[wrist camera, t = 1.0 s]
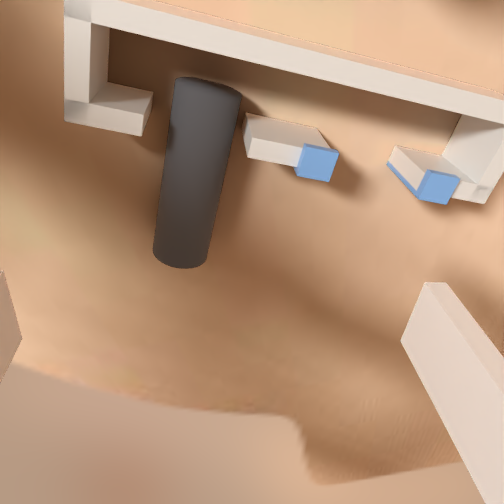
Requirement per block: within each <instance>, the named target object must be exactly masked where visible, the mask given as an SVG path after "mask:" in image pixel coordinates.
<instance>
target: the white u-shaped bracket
mask: <svg viewBox="0 0 504 504" xmlns="http://www.w3.org/2000/svg"><path fill="white" fill-rule="evenodd" d="M110 27H111V28H115V29H119V30H123V31H127V32H131V33H135V34H139V35H143V36H147V37H151V38H155V39H160V40H164V41H168V42H172V43H176V44H180V45H184V46H188V47H192V48H196V49H200V50H204V51H208V52H212V53H216V54H220V55H225V56H229V57H233V58H237V59H241V60H245V61H249V62H253V63H257V64H261V65H265V66H269V67H273V68H277V69H281V70H285V71H290V72H294V73H298V74H302V75H306V76H310V77H314V78H318V79H322V80H326V81H330V82H334V83H338V84H342V85H346V86H351V87H355V88H359V89H363V90H367V91H371V92H375V93H379V94H383V95H387V96H391V97H395V98H399V99H403V100H407V101H411V102H416V103H420V104H424V105H428V106H432V107H436V108H440V109H444V110H448V111H452V112H456V113H460V114H462V116H461V118H460V120H459V122H458V124H457V126H456V128H455V130H454V132H453V134H452V136H451V138H450V140H449V141H448V143H447V145H446V147H445V149H444V151H443V153H442V155H437V154H433V153H428V152H424V151H419V150H414V149H410V148H405V147H401V146H396V145H395V146H394V149H393V151H392V153H391V155H390V158H389V160H388V162H387V166H388V167H389V168H390V169H391V170H392V171H393V172H394V173H395V174H396V176H397V177H398V178H399V179H400V180H401V181H402V182H403V183H404V184H405V185H406V186H407V188H408V189H409V190H410V191H411V192H412V193H413V194H414V195H415V196H416V197H417V198H418V199H419V200H424V201H429V202H435V203H440V204H445V205H447V203H448V201H449V199H450V198H455V199H460V200H465V201H470V202H476V203H481V204H485V202H486V200H487V199H488V197H489V195H490V194H491V192H492V190H493V189H494V187H495V185H496V184H497V182H498V180H499V179H500V177H501V175H502V174H503V172H504V94H501V93H499V92H497V91H494V90H492V89H488V88H484V87H480V86H477V85H473V84H469V83H465V82H462V81H458V80H454V79H450V78H446V77H443V76H439V75H435V74H431V73H428V72H424V71H420V70H416V69H412V68H409V67H405V66H401V65H397V64H393V63H390V62H386V61H382V60H378V59H375V58H371V57H367V56H363V55H359V54H356V53H352V52H348V51H344V50H341V49H337V48H333V47H329V46H325V45H322V44H318V43H314V42H310V41H306V40H303V39H299V38H295V37H291V36H288V35H284V34H280V33H276V32H272V31H269V30H265V29H261V28H257V27H253V26H250V25H246V24H242V23H238V22H235V21H231V20H227V19H223V18H219V17H216V16H212V15H208V14H204V13H201V12H197V11H193V10H189V9H185V8H182V7H178V6H174V5H170V4H166V3H163V2H159V1H155V0H64V121H65V122H70V123H76V124H81V125H86V126H91V127H96V128H101V129H106V130H111V131H116V132H121V133H126V134H131V135H136V136H142V134H143V131H144V129H145V126H146V123H147V121H148V118H149V115H150V113H151V109H152V99H153V92H151V91H146V90H142V89H137V88H133V87H128V86H124V85H119V84H114V83H110V82H107V77H108V57H109V38H110ZM242 134H243V139H244V144H245V148H246V153H247V157H248V158H253V159H258V160H263V161H268V162H273V163H278V164H283V165H288V166H293V168H294V170H295V172H296V175H297V176H300V177H305V178H310V179H315V180H321V181H326V182H329V180H330V178H331V175H332V172H333V169H334V167H335V164H336V161H337V158H338V156H339V152H338V151H337V150H335V149H331V148H330V147H329V145H328V144H327V143H326V141H325V140H324V138H323V137H322V135H321V134H320V132H319V131H318V130H317V128H314V127H310V126H305V125H301V124H296V123H292V122H287V121H283V120H278V119H274V118H269V117H264V116H260V115H255V114H251V113H246V112H245V117H244V121H243V126H242Z"/></svg>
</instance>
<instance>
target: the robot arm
mask: <svg viewBox="0 0 504 504" xmlns="http://www.w3.org/2000/svg"><path fill="white" fill-rule="evenodd" d="M21 340H22V336H21V332H20V329H19V325H18V321H17V318H16V314H15V311H14V307H13V303H12V300H11V296H10V293H9V289H8V285H7V282H6V278H5V275H4V271H0V383H1V381H2V379H3V377H4V375H5V373H6V371H7V368H8V367H9V365H10V363H11V361H12V359H13V356H14V354H15V352H16V350H17V348H18V346H19V344H20V342H21ZM400 341H401V343H402V345H403V347H404V349H405V351H406V353H407V355H408V357H409V359H410V360H411V362H412V364H413V366H414V368H415V370H416V372H417V374H418V376H419V378H420V380H421V381H422V383H423V385H424V387H425V389H426V391H427V393H428V395H429V397H430V399H431V401H432V402H433V404H434V406H435V408H436V410H437V412H438V414H439V416H440V418H441V420H442V422H443V424H444V425H445V427H446V429H447V431H448V433H449V435H450V437H451V439H452V441H453V443H454V445H455V446H456V448H457V450H458V452H459V454H460V456H461V458H462V460H463V462H464V464H465V465H466V467H467V469H468V471H469V473H470V475H471V477H472V479H473V481H474V483H475V485H476V486H477V488H478V490H479V492H480V494H481V496H482V498H483V500H484V502H485V504H504V357H503V356H502V355H501V353H500V352H499V351H498V349H497V348H496V347H495V346H494V344H493V343H492V342H491V340H490V339H489V338H488V336H487V335H486V334H485V332H484V331H483V330H482V329H481V327H480V326H479V325H478V323H477V322H476V321H475V319H474V318H473V317H472V316H471V314H470V313H469V312H468V310H467V309H466V308H465V306H464V305H463V304H462V302H461V301H460V300H459V299H458V297H457V296H456V295H455V293H454V292H453V291H452V289H451V288H450V287H449V285H448V284H447V283H444V282H425V283H424V285H423V288H422V290H421V293H420V295H419V297H418V300H417V302H416V305H415V307H414V309H413V312H412V314H411V316H410V319H409V321H408V324H407V326H406V328H405V331H404V333H403V336H402V338H401V340H400Z"/></svg>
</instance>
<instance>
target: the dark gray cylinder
mask: <svg viewBox="0 0 504 504" xmlns="http://www.w3.org/2000/svg"><path fill="white" fill-rule="evenodd" d="M241 98H242V95H241V93H240V92H238V91H237V90H235V89H233V88H231V87H229V86H226V85H224V84H220V83H216V82H211V81H207V80H203V79H198V78H192V77H180V78H177V79H176V80H175V86H174V94H173V101H172V109H171V116H170V124H169V131H168V139H167V146H166V154H165V161H164V169H163V176H162V184H161V191H160V199H159V206H158V214H157V221H156V229H155V236H154V244H153V253H154V255H155V257H156V258H157V259H158V260H159V261H161V262H162V263H164V264H166V265H168V266H171V267H175V268H194V267H197V266H200V265H201V264H203V263H204V262H205V260H206V258H207V253H208V249H209V244H210V239H211V235H212V230H213V226H214V221H215V217H216V212H217V207H218V203H219V198H220V194H221V189H222V185H223V180H224V175H225V171H226V166H227V162H228V157H229V153H230V148H231V143H232V139H233V134H234V130H235V125H236V121H237V116H238V111H239V107H240V102H241Z"/></svg>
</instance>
